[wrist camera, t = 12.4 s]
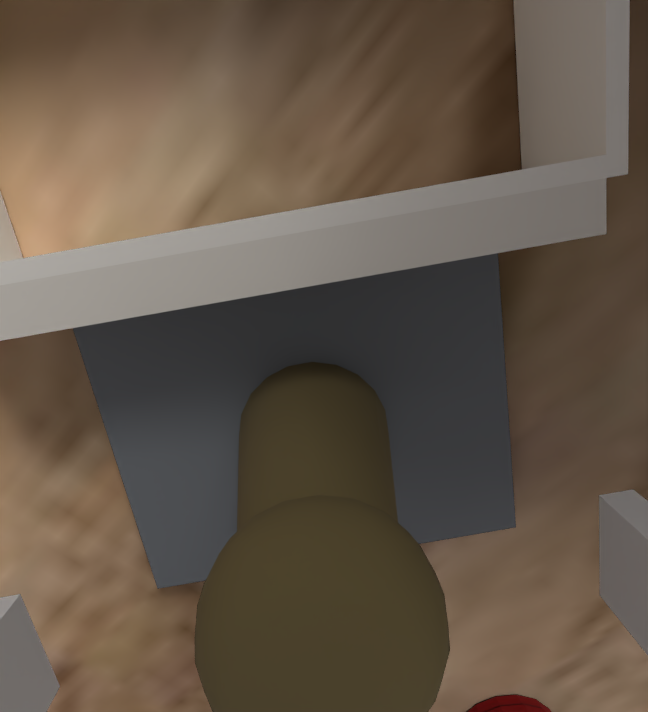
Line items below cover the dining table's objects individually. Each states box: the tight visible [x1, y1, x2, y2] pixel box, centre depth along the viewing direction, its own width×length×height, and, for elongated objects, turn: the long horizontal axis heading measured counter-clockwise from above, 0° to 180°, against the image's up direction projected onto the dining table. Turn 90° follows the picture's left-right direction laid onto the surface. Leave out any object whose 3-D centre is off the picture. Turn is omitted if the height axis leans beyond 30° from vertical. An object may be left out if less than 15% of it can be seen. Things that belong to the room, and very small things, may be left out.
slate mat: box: [73, 253, 516, 589], centre depth 19 cm, size 12×16×1 cm
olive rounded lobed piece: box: [195, 362, 450, 712], centre depth 13 cm, size 6×6×11 cm
